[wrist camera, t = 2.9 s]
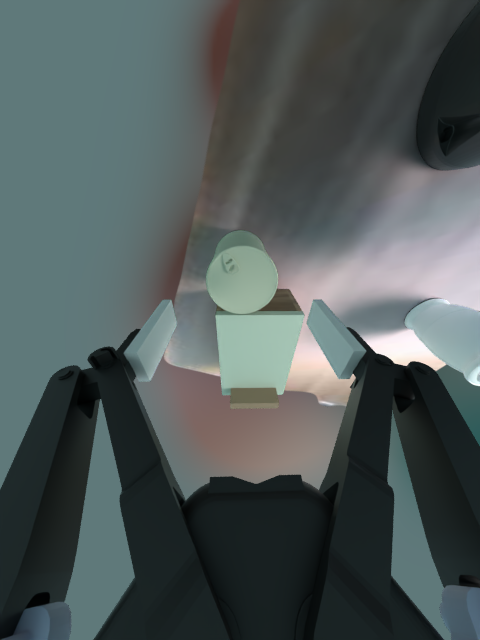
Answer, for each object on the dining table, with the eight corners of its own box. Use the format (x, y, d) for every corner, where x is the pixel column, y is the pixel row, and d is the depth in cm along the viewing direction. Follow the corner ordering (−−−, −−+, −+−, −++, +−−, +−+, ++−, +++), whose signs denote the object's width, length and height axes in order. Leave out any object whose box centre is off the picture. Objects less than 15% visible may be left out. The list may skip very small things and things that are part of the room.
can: (250, 218, 27) (258, 228, 17) (273, 267, 32) (290, 297, 22) (204, 249, 30) (188, 272, 20) (232, 290, 34) (230, 326, 25)
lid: (216, 311, 27) (212, 329, 24) (302, 311, 28) (312, 328, 24) (222, 390, 40) (221, 410, 36) (281, 389, 40) (286, 409, 36)
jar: (393, 335, 42) (457, 390, 30) (406, 299, 36) (492, 350, 24) (441, 326, 41) (529, 381, 29) (462, 288, 35) (584, 335, 23)
